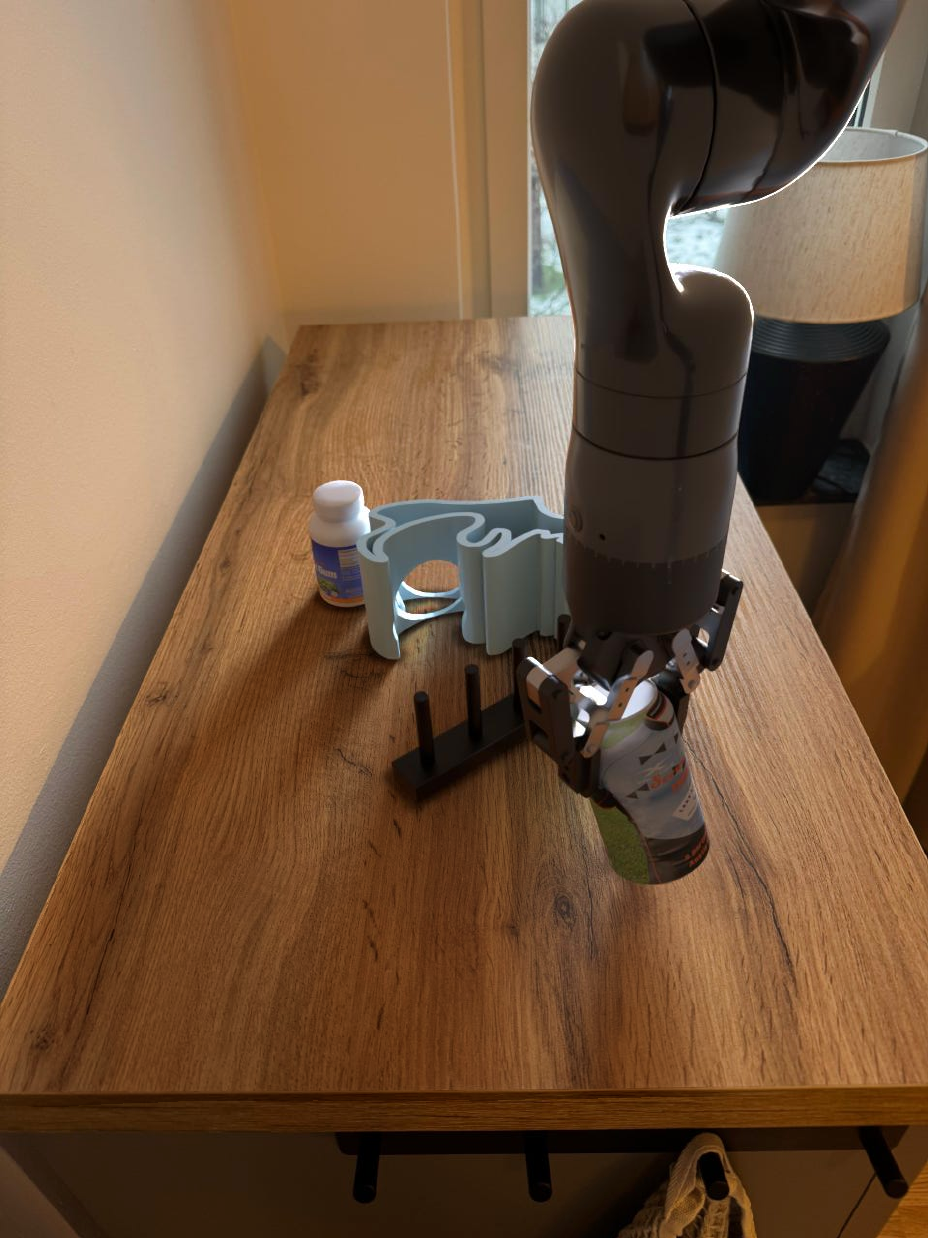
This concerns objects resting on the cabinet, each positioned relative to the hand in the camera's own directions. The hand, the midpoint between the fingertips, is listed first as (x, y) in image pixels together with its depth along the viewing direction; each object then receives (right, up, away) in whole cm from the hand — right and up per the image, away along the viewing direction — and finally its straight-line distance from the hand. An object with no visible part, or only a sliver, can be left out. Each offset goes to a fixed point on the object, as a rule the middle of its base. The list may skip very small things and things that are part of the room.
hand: (623, 757), depth 53 cm
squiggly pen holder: (-8, +7, +22) cm, 24 cm away
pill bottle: (-19, +10, +26) cm, 34 cm away
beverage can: (+2, -7, +3) cm, 8 cm away
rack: (-7, 0, +12) cm, 14 cm away
